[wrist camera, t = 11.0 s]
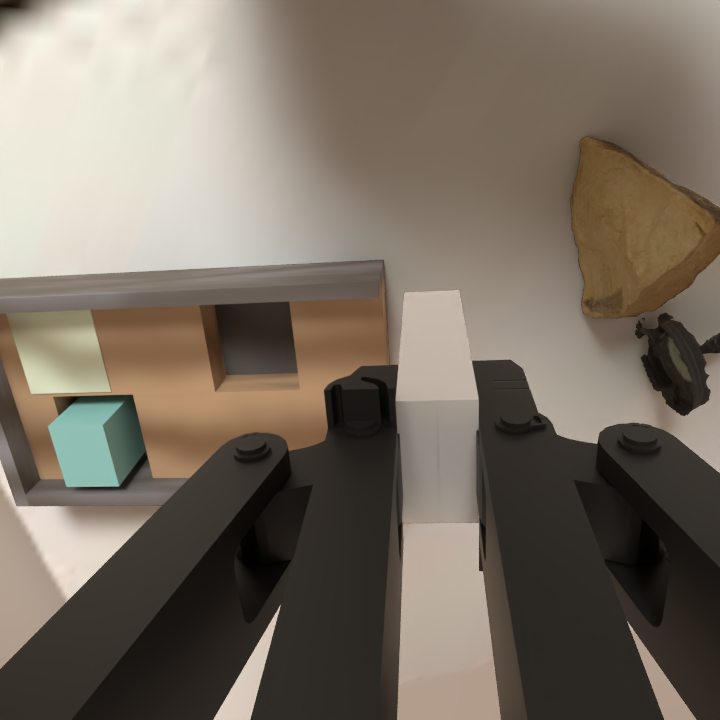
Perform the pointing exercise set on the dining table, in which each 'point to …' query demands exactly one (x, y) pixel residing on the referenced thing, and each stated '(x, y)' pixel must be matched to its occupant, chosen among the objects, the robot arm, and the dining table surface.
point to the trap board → (179, 363)
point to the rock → (636, 233)
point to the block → (98, 440)
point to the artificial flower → (677, 363)
